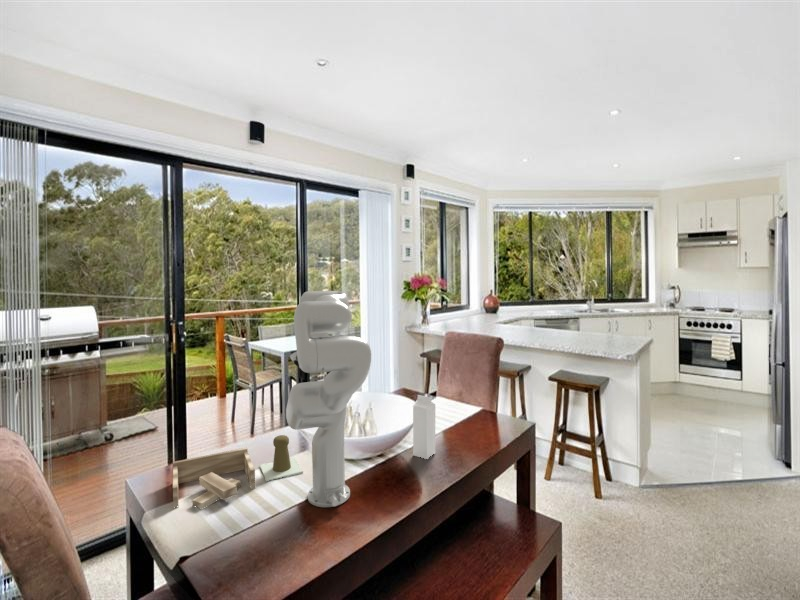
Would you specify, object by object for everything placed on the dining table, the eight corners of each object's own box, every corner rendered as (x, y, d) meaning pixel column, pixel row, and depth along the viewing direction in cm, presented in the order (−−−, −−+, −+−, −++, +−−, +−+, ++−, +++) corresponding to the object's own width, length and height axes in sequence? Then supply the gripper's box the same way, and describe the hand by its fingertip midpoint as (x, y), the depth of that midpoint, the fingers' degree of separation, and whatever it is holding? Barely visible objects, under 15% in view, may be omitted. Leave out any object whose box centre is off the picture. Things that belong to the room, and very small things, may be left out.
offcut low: (240, 488, 130) (240, 480, 130) (202, 511, 117) (201, 503, 117) (231, 485, 131) (231, 478, 131) (192, 508, 119) (192, 500, 119)
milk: (422, 449, 156) (422, 392, 154) (435, 454, 152) (435, 395, 151) (412, 455, 151) (412, 396, 149) (426, 459, 147) (426, 399, 146)
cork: (285, 472, 137) (285, 440, 136) (269, 471, 138) (268, 439, 137) (294, 464, 143) (293, 433, 142) (278, 463, 144) (277, 432, 143)
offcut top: (212, 479, 130) (211, 472, 130) (236, 493, 122) (236, 485, 122) (199, 484, 127) (199, 477, 127) (224, 499, 119) (223, 491, 119)
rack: (255, 488, 128) (254, 466, 128) (173, 508, 118) (172, 484, 117) (247, 466, 143) (246, 447, 142) (174, 483, 132) (173, 461, 131)
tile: (303, 473, 138) (303, 471, 138) (266, 481, 132) (266, 480, 132) (294, 458, 149) (294, 457, 149) (259, 466, 143) (259, 464, 143)
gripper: (334, 324, 147) (335, 371, 148) (286, 328, 138) (287, 378, 139) (342, 326, 141) (343, 375, 142) (292, 330, 132) (294, 382, 133)
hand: (315, 376), depth 141 cm, fingers open, 9 cm apart
